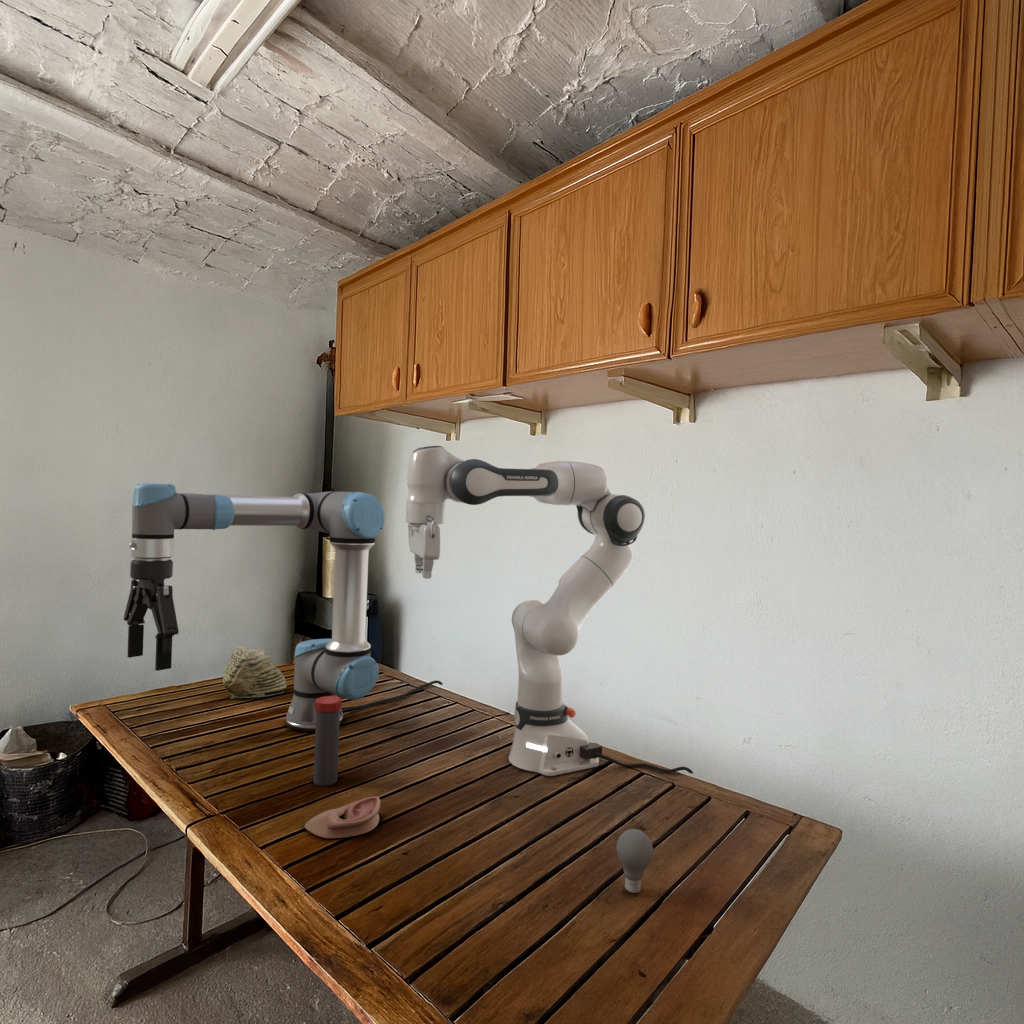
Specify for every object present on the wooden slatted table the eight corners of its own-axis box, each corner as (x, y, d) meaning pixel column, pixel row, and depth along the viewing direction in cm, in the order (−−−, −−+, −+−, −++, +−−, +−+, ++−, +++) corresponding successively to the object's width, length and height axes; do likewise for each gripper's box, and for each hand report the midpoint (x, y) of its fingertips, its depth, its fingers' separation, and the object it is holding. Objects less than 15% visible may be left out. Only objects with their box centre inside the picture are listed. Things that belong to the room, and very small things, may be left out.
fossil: (218, 695, 195) (220, 647, 195) (278, 685, 208) (279, 640, 207) (228, 703, 189) (230, 653, 188) (289, 692, 201) (290, 645, 201)
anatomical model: (296, 812, 118) (326, 786, 130) (295, 833, 118) (325, 805, 130) (362, 823, 116) (387, 795, 127) (361, 844, 116) (386, 814, 127)
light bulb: (610, 879, 108) (613, 822, 108) (644, 879, 109) (647, 822, 109) (619, 902, 102) (622, 840, 102) (655, 901, 103) (658, 840, 103)
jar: (339, 783, 140) (342, 704, 140) (315, 787, 138) (318, 706, 138) (334, 774, 145) (337, 697, 145) (311, 777, 143) (314, 699, 142)
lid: (343, 711, 140) (344, 702, 140) (317, 714, 137) (317, 705, 137) (338, 703, 145) (338, 694, 145) (312, 706, 142) (313, 697, 142)
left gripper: (108, 554, 134) (104, 654, 134) (159, 565, 118) (155, 678, 119) (146, 552, 140) (143, 648, 140) (199, 563, 124) (195, 671, 124)
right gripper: (448, 518, 137) (446, 581, 138) (430, 514, 157) (428, 570, 157) (419, 517, 135) (417, 581, 136) (404, 513, 155) (402, 570, 155)
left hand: (148, 662), depth 129 cm, fingers open, 13 cm apart
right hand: (422, 575), depth 146 cm, fingers open, 8 cm apart
